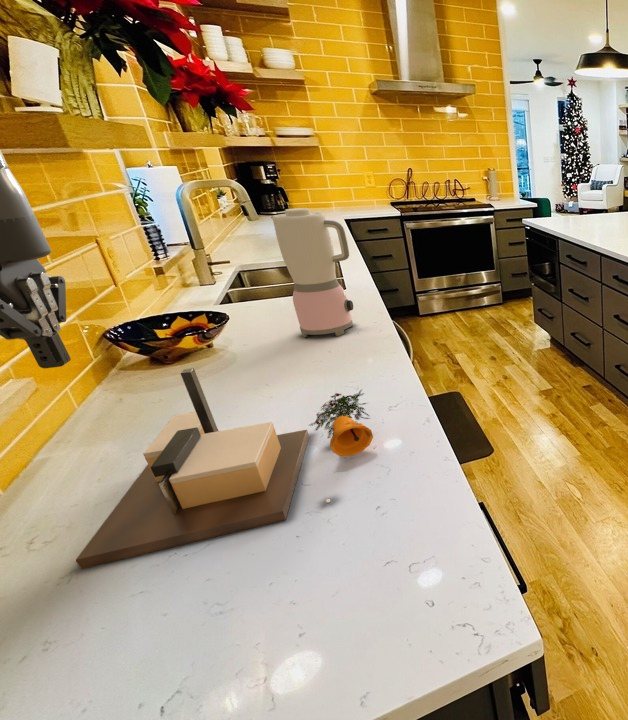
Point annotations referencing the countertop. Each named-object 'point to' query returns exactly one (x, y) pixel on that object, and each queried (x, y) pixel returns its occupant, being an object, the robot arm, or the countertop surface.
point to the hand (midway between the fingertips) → (56, 365)
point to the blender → (314, 270)
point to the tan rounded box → (227, 465)
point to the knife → (174, 462)
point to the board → (164, 530)
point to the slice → (170, 436)
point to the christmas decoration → (345, 426)
